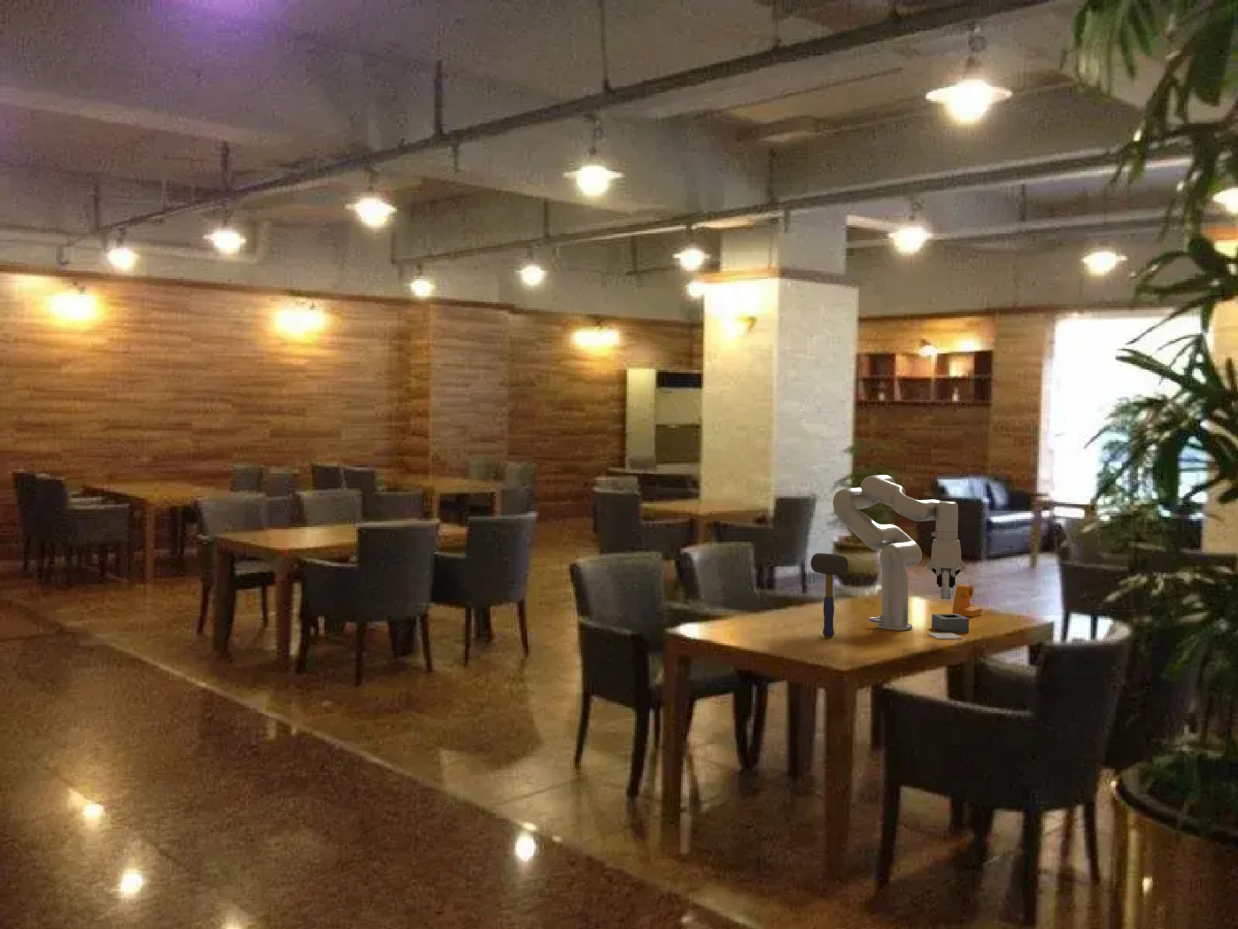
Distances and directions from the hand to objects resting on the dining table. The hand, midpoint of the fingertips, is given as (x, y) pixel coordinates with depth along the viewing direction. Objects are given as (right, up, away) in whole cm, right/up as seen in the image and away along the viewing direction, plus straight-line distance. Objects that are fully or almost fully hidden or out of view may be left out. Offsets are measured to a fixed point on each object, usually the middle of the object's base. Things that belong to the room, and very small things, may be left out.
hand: (945, 586), depth 412 cm
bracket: (+21, -16, +44) cm, 51 cm away
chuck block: (+5, -17, +14) cm, 23 cm away
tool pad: (0, -18, +1) cm, 18 cm away
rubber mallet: (-42, -18, -1) cm, 46 cm away
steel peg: (0, -4, 0) cm, 4 cm away
